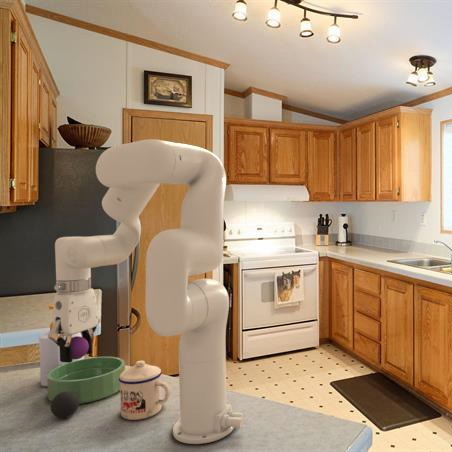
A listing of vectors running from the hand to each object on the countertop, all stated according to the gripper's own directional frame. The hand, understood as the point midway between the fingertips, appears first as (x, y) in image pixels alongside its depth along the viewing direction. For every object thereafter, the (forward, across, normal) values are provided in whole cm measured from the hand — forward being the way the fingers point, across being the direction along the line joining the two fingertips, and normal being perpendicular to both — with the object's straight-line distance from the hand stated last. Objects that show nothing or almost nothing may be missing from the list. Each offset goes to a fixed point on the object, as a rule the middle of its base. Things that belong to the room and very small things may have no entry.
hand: (76, 356), depth 108 cm
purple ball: (0, 0, 0) cm, 0 cm away
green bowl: (+10, +3, 0) cm, 10 cm away
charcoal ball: (+10, -10, -6) cm, 15 cm away
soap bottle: (+10, +9, +14) cm, 20 cm away
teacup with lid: (+10, -4, -23) cm, 25 cm away
